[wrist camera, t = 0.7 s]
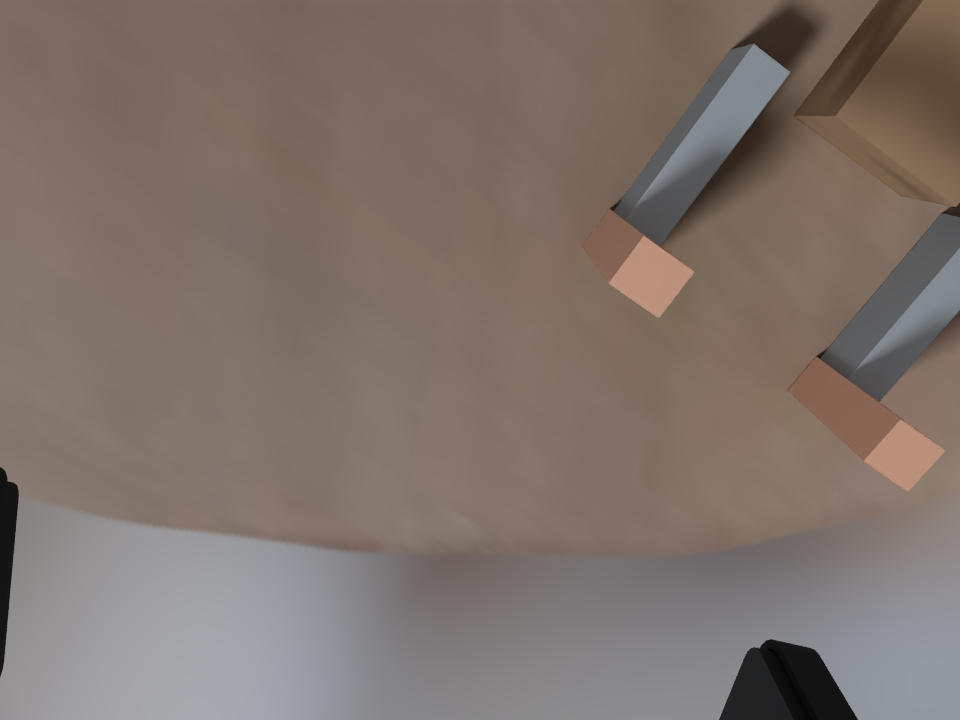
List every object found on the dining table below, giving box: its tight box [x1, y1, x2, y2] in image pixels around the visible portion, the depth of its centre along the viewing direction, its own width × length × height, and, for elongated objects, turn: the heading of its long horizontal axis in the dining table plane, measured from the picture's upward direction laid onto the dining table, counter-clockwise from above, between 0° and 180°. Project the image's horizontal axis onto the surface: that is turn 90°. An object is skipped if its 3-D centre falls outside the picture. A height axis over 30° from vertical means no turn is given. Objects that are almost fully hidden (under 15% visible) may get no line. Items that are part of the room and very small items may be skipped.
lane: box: [582, 44, 960, 491], centre depth 32 cm, size 10×14×8 cm
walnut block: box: [794, 0, 960, 207], centre depth 32 cm, size 6×6×4 cm
